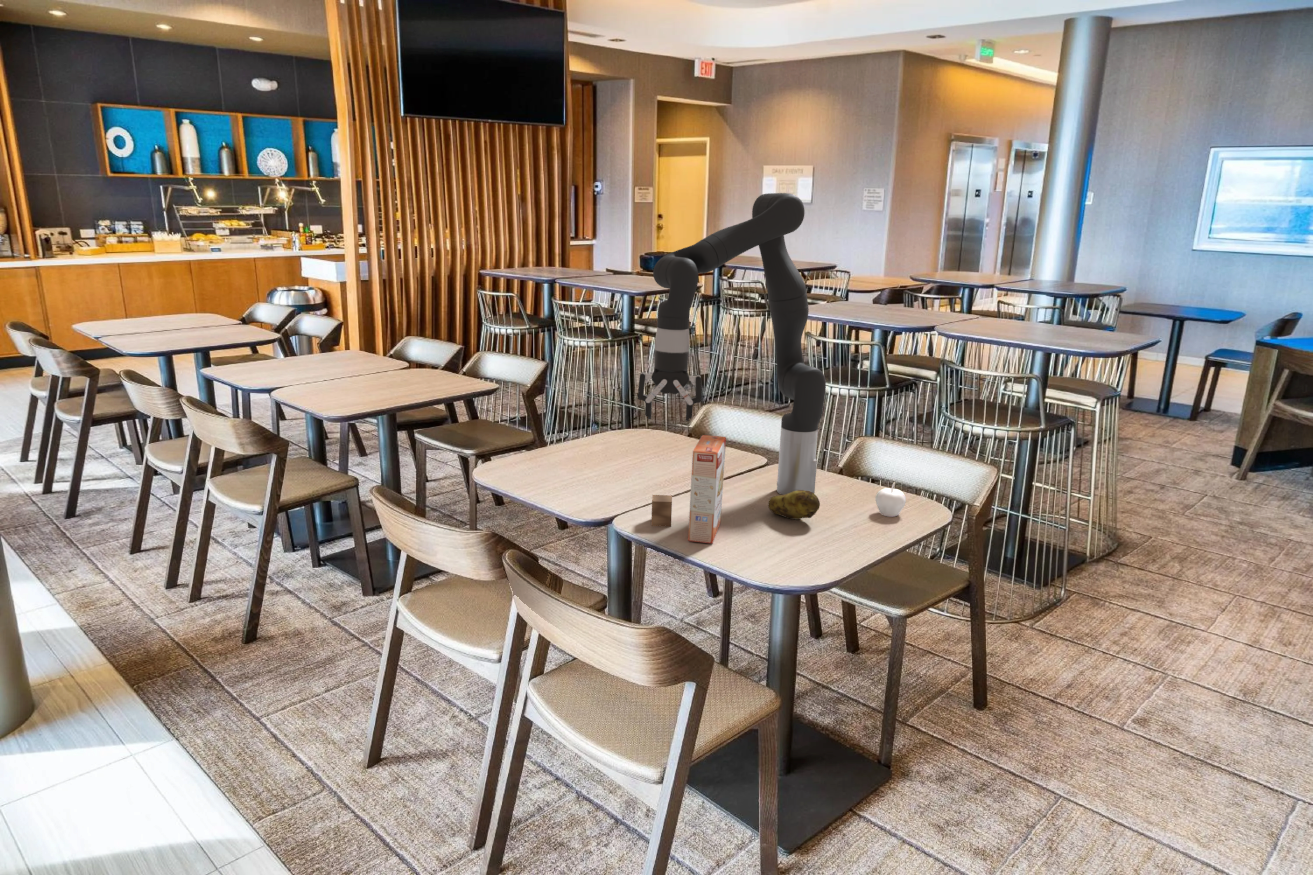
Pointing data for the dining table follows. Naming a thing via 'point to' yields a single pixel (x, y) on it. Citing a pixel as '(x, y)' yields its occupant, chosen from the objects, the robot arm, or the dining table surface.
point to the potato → (795, 504)
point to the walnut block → (661, 510)
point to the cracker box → (706, 488)
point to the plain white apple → (890, 501)
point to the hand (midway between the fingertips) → (668, 419)
